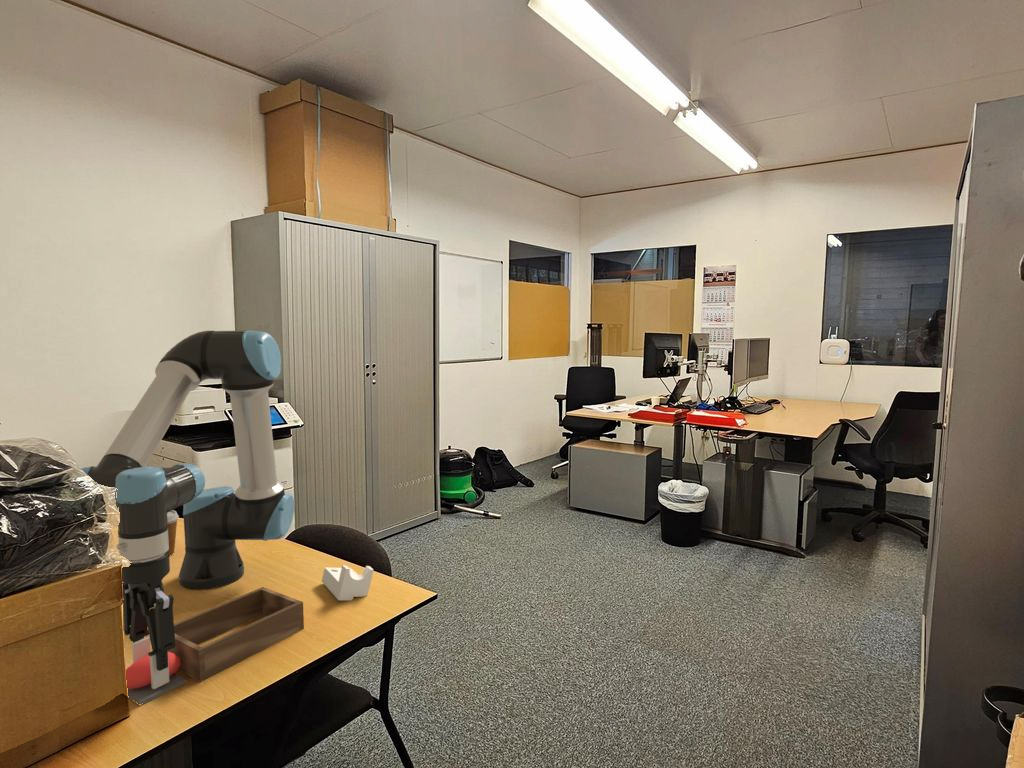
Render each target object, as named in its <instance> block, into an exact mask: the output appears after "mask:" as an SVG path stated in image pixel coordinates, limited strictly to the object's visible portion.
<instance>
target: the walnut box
mask: <svg viewBox="0 0 1024 768" xmlns="http://www.w3.org/2000/svg"><path fill="white" fill-rule="evenodd" d="M261 616H264V617H263V618H261V619H258V620H256V621H254V622H252V623H249V624H247V625H245V626H243V627H241V628H239V629H236V630H234V631H232V632H230V633H228V634H225V635H223V636H221V637H219V638H217V639H215V640H213V641H211V642H208V643H206V644H204V645H202V646H200V644H202V643H204V642H207V641H210V640H211V639H213V638H216V637H217V636H220V635H222V634H224V633H227V632H229V631H231V630H233V629H235V628H238V627H239V626H241V625H244V624H246V623H248V622H250V621H253V620H255V619H257V618H259V617H261ZM304 617H305V615H304V601H301V600H298V599H296V598H293V597H290V596H287V595H286V594H283V593H280V592H277V591H275V590H272V589H270V588H266V587H264V586H262V587H260V588H256V589H255V590H252V591H250V592H247V593H244V594H243V595H239V596H237V597H234V598H233V599H231V600H228V601H225V602H223V603H221V604H218V605H215V606H213V607H211V608H209V609H206V610H204V611H201V612H198V613H196V614H195V615H191V616H189V617H187V618H185V619H181V620H180V621H177V622H174V633H175V648H173V649H170V650H168V652H171V653H175V654H176V655H177V656H179V658H180V660H181V665H180V667H179V669H178V670H179V671H180V672H182V673H184V674H186V675H187V676H189V677H191V678H193V679H194V680H196V681H198V682H203V681H205V680H207V679H209V678H211V677H213V676H215V675H217V674H219V673H221V672H222V671H223V672H224V670H227V669H228V668H230V667H232V666H234V665H236V664H238V663H240V662H242V661H244V660H245V659H248V658H249V657H252V656H254V655H255V654H257V653H259V652H261V651H263V650H265V649H267V648H269V647H271V646H273V645H275V644H277V643H280V641H282V640H285V639H287V638H288V637H289V638H290V636H293V635H294V634H296V633H298V632H301V631H302V630H304V629H305V625H304V624H305V623H304V622H305V619H304ZM178 670H177V671H178Z"/></svg>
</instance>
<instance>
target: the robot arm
mask: <svg viewBox="0 0 1024 768" xmlns="http://www.w3.org/2000/svg"><path fill="white" fill-rule="evenodd" d="M281 366H282V356H281V351H280V347H279V345H278V343H277V341H276V339H274V337H273V336H272V335H271V334H269V333H268V332H265V331H260V330H259V331H256V330H251V329H250V330H203V331H199V332H196V333H193V334H191V335H188V336H187V337H185V338H183V339H182V340H180V341H179V342H177V343H176V344H175V345H174V346H173V347H171V348H170V349H169V350H168V351H167V352H166V353H165V354H164V355H163V357H162V358H161V359H160V361H159V362H158V363H157V365H156V367H155V369H154V371H155V372H154V373H155V377H154V379H153V380H152V381H151V383H150V385H148V386H149V387H148V388H147V389H146V391H145V393H144V394H143V395H142V397H141V398H140V400H139V402H137V405H136V406H135V408H134V410H132V412H131V414H130V415H129V417H128V419H126V422H125V423H124V424H123V426H122V428H121V429H120V431H119V432H118V433H117V435H116V437H115V439H114V440H113V441H112V443H111V445H110V446H109V447H108V449H107V451H106V452H105V453H104V455H103V457H102V458H101V459H100V461H99V463H98V464H97V465H96V466H94V465H93V466H89V467H87V466H86V467H83V468H81V469H80V470H83V471H84V472H85V473H86V474H87V475H89V476H90V477H91V478H92V479H93V480H94V481H95V482H97V483H98V484H101V485H104V486H108V487H115V488H117V489H118V490H117V489H116V492H117V498H116V492H115V500H116V506H117V508H118V507H119V512H120V523H119V525H118V524H117V527H118V528H117V530H118V531H117V533H118V534H117V535H118V544H116V546H115V547H116V549H117V550H118V552H119V554H120V555H121V556H123V557H125V558H126V559H128V560H129V561H130V562H132V563H130V564H131V565H130V566H129V567H123V568H122V581H121V583H122V584H123V594H122V608H123V629H124V631H123V633H124V635H125V636H128V635H129V641H130V642H132V643H131V648H132V664H133V663H135V662H136V661H138V660H139V659H142V658H144V657H146V656H150V669H151V687H152V689H156V688H158V687H160V686H162V685H164V684H166V683H168V682H169V664H168V650H170V649H173V648H175V633H174V623H175V619H174V609H173V608H174V607H173V606H174V602H175V597H174V595H173V594H172V593H171V594H169V595H166V593H165V587H164V583H163V579H164V578H165V577H166V576H167V575H168V574H169V573H170V570H171V566H170V565H171V563H170V556H169V553H168V552H167V551H168V550H169V537H168V526H167V513H168V512H170V511H171V510H175V509H177V508H179V507H181V506H182V507H183V510H182V516H183V529H184V533H183V534H184V546H185V554H184V557H183V560H182V563H181V566H180V571H179V574H178V583H179V586H180V587H182V588H184V589H186V590H187V589H188V590H195V591H196V590H199V591H200V590H210V589H215V588H219V587H224V586H226V585H230V584H232V583H234V582H237V580H239V579H241V578H242V577H243V575H244V573H245V565H244V562H243V561H244V560H243V559H242V557H241V555H240V552H239V550H238V547H237V544H236V541H264V542H265V541H266V542H267V541H273V540H281V539H282V538H284V537H285V536H286V535H287V533H288V531H289V530H290V527H291V525H292V522H293V519H294V514H295V503H296V502H295V498H294V496H293V495H292V494H290V493H288V492H287V493H285V485H284V484H283V482H281V481H279V480H278V478H277V477H278V476H277V469H276V468H277V467H276V456H275V449H274V448H275V446H274V437H273V429H272V427H273V426H272V418H271V416H272V415H271V409H270V407H271V406H270V396H269V390H270V389H271V388H272V387H273V386H274V385H275V382H274V381H275V380H276V379H277V378H278V377H279V376H280V375H281V374H280V373H281V371H282V368H281ZM206 380H220V381H221V387H222V390H223V391H225V393H227V394H229V396H230V398H229V399H230V405H231V414H232V423H233V433H234V439H235V441H234V442H235V448H236V449H235V450H236V457H237V465H238V466H237V467H238V476H239V484H240V485H239V486H238V487H237V488H236V489H235V490H234V488H233V486H229V485H225V486H217V487H210V488H205V486H206V478H205V474H204V473H203V471H202V470H201V469H200V468H199V466H196V465H195V464H192V463H190V462H189V463H188V462H187V463H185V462H183V463H181V464H179V463H178V464H175V465H172V466H171V467H170V466H169V467H157V466H147V465H148V463H149V461H150V460H151V458H152V457H153V455H154V454H155V451H156V449H158V446H159V444H161V441H162V439H163V438H164V436H165V434H166V433H167V431H168V429H169V427H170V426H171V424H172V423H173V421H174V419H175V417H176V416H177V414H178V412H179V411H180V408H181V407H182V405H183V404H184V402H185V400H186V399H187V397H188V395H189V394H190V393H191V392H193V391H195V390H197V389H198V387H199V386H200V384H201V382H203V381H206ZM120 555H119V556H120ZM123 599H124V600H123Z"/></svg>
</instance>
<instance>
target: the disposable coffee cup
mask: <svg viewBox="0 0 1024 768" xmlns="http://www.w3.org/2000/svg"><path fill="white" fill-rule="evenodd" d="M179 517H180V516H179V514H178V513H177V511H176V510H175V509H173V510H171V511H170V512H168V513H167V526H168V537H169V550H168V551H167V552H168V553H169V557H171V556H170V555H172V554H173V553H174V554H175V548H176V537H177V524H178V520H179ZM174 554H173V555H174ZM173 555H172V556H173Z"/></svg>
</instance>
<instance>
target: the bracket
mask: <svg viewBox="0 0 1024 768" xmlns="http://www.w3.org/2000/svg"><path fill="white" fill-rule="evenodd" d="M373 573H374V568H372V567H371V566H370V565H365V568H364V570H363V571H362V572H361V573H360V574H358V573H357V572H356V571H355V570H354V569H352V567H349V566H347V565H345V564H344V565H341V567H328V566H327V567H326V566H325V567H324V569H323V574H322V577H321V583H323V584H324V586H325V587H326V588H327V589H328V590H329V591H330V592H331V594H332V595H333V596H334V597H335V599H337V600H338V601H353V600H354V597H355V598H358V597H363V596H364V597H366V596H365V595H368V596H369V591H370V587H371V583H372V582H371V581H372V579H373ZM364 597H363V598H364ZM352 599H353V600H352Z"/></svg>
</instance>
